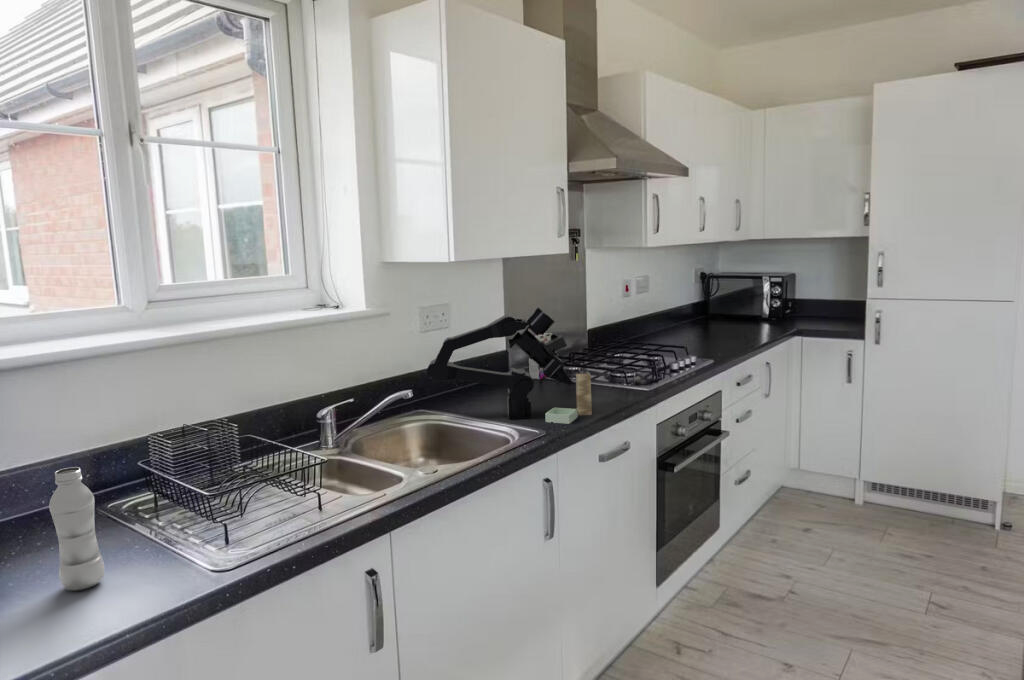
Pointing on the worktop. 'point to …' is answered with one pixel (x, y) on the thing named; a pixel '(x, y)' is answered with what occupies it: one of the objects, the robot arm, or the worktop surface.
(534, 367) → the candy bar box
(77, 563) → the plastic bottle
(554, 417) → the open square box
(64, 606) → the worktop surface
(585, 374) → the tan wooden block
